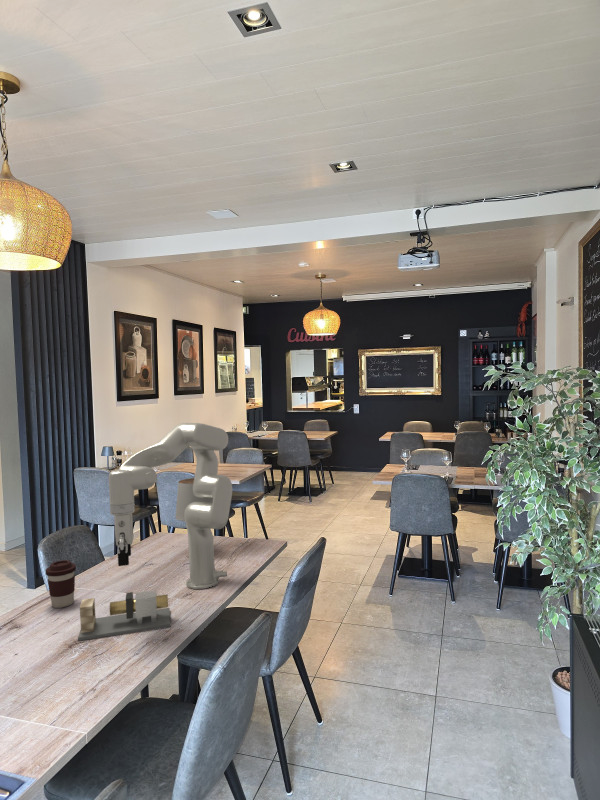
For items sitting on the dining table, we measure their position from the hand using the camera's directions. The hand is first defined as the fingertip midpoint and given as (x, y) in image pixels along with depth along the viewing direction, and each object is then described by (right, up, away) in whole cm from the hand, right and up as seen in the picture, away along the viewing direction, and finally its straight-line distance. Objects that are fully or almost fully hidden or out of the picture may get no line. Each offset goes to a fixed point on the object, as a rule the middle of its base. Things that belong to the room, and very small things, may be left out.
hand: (124, 560), depth 174 cm
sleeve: (+7, -21, +1) cm, 22 cm away
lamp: (+11, -18, +69) cm, 72 cm away
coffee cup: (-29, -22, +19) cm, 40 cm away
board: (+1, -21, 0) cm, 21 cm away
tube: (+5, -18, +1) cm, 18 cm away
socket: (-10, -21, -3) cm, 24 cm away
